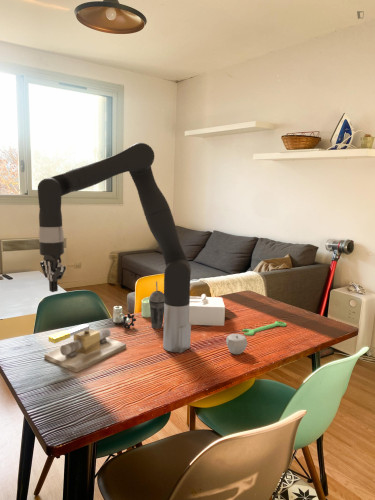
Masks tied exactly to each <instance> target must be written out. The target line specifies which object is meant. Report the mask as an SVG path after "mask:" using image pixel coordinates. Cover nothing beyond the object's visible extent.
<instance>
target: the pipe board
mask: <svg viewBox="0 0 375 500" xmlns="http://www.w3.org/2000/svg"><path fill="white" fill-rule="evenodd" d="M111 334H112V333H111V329H110V328H108V327H107V328H106V327H105V328H104V329H103V328H102V329H101V330H98V331H97V330H94V329H92V328H89V333H84V331H83V332H80V333H78V334H75V335H73V341H71V342H68V343H66V344H63V345H61V346H60V347H59V348H56V349H55V350H52V351H49V352H46V353H44V354H43V356H44V357H43V358H44V359H45V360H48V362H52V363H54V364H56V365H58V366H61V367H63V368H65V369H68V370H69V371H72V372H74V373H78V372H81V371H82V370H85V369H87V368H89V367H91V366H93V365H95V364H97V363H98V362H101V361H103V360H105V359H107V358H109V357H111V356H112V355H115V354H117V353H119V352H121V351H123V350H125V349H127V343H124V342H121V341H119V340H115V339H112V338H109V337H111Z"/></svg>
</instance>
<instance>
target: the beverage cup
mask: <svg viewBox="0 0 375 500" xmlns="http://www.w3.org/2000/svg"><path fill="white" fill-rule="evenodd" d="M155 286H156V287H155V288H156V290H155V291H152V293H151V294H150V295H149V297H150V298H149V304H150V313H151V317H150V323H151V325H150V326H151V328H152V329H155V330H156V329H157V330H160V329H161V328H163V325H164V292H162V291H160V290H158V281H157V280H156V281H155Z"/></svg>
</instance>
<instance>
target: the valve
mask: <svg viewBox="0 0 375 500" xmlns="http://www.w3.org/2000/svg"><path fill="white" fill-rule="evenodd" d="M112 310H113V313H112V317H113V319H112V321H113V323H115V324H122V328H123V329H125V328H127V329H131V326H132V327H134V326H135V322H136V321H137V319H136V317H135V314H133V313H132V314H131V313H129V312H127V316H126V315H125V314H124V313H123V307H122V305H121V306H120V305H116V306H113V309H112Z"/></svg>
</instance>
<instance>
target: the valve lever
mask: <svg viewBox="0 0 375 500" xmlns="http://www.w3.org/2000/svg"><path fill="white" fill-rule="evenodd" d="M89 329H90V325H89V324H85V323H83V324H80V325H78V326H75V327H73V328H70V329H68V330H62V331H60V332H57V333H54V334H50V335H49V336H48V342H50V343H52V344H57V343H59V342H62V341H64V340H68V339H70V338H71V337H72V336H74V335H75V334H78V333H80V332H83V331H84V333H89Z"/></svg>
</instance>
